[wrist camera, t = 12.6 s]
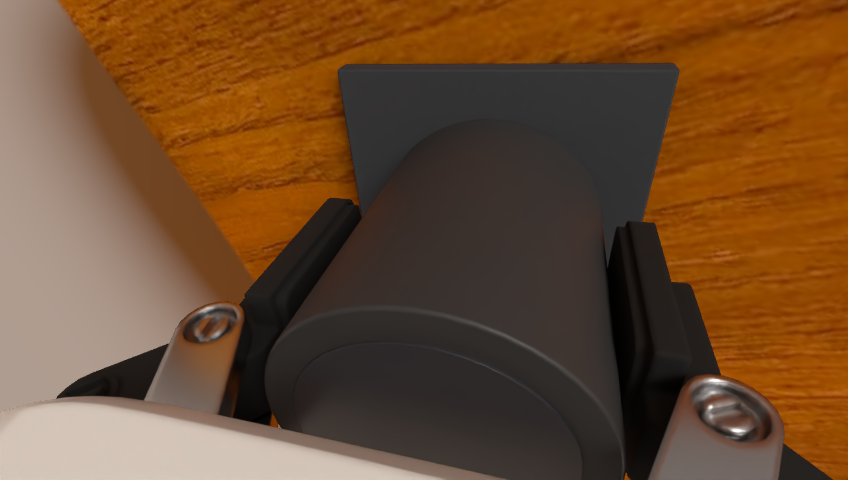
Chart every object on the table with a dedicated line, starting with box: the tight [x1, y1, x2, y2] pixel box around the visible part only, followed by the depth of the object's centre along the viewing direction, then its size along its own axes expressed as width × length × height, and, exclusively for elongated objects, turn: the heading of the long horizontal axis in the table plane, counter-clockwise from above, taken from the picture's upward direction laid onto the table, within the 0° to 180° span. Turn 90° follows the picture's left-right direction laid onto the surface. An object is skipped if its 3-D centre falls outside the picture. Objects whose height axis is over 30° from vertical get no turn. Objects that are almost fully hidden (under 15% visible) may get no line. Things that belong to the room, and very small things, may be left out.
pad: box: [338, 63, 679, 268], centre depth 13 cm, size 8×8×1 cm
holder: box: [264, 119, 627, 480], centre depth 10 cm, size 6×6×7 cm
